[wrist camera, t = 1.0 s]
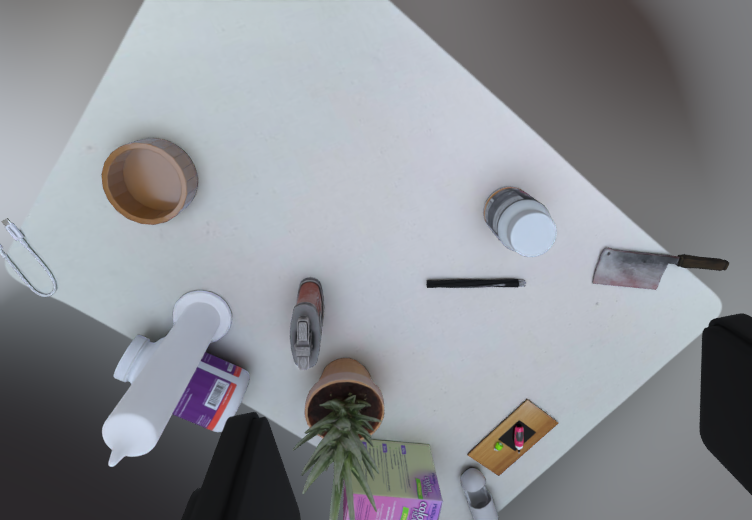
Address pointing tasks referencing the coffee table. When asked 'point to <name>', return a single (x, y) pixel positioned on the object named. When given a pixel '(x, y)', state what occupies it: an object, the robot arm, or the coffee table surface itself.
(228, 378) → the pill bottle
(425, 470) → the box
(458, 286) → the black pen
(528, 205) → the pill bottle
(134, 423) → the candle
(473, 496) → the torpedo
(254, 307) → the coffee table surface
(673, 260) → the cleaver
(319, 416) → the potted plant
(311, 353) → the lighter
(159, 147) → the brown wooden bowl
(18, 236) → the electronic cable
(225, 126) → the coffee table surface
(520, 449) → the board
